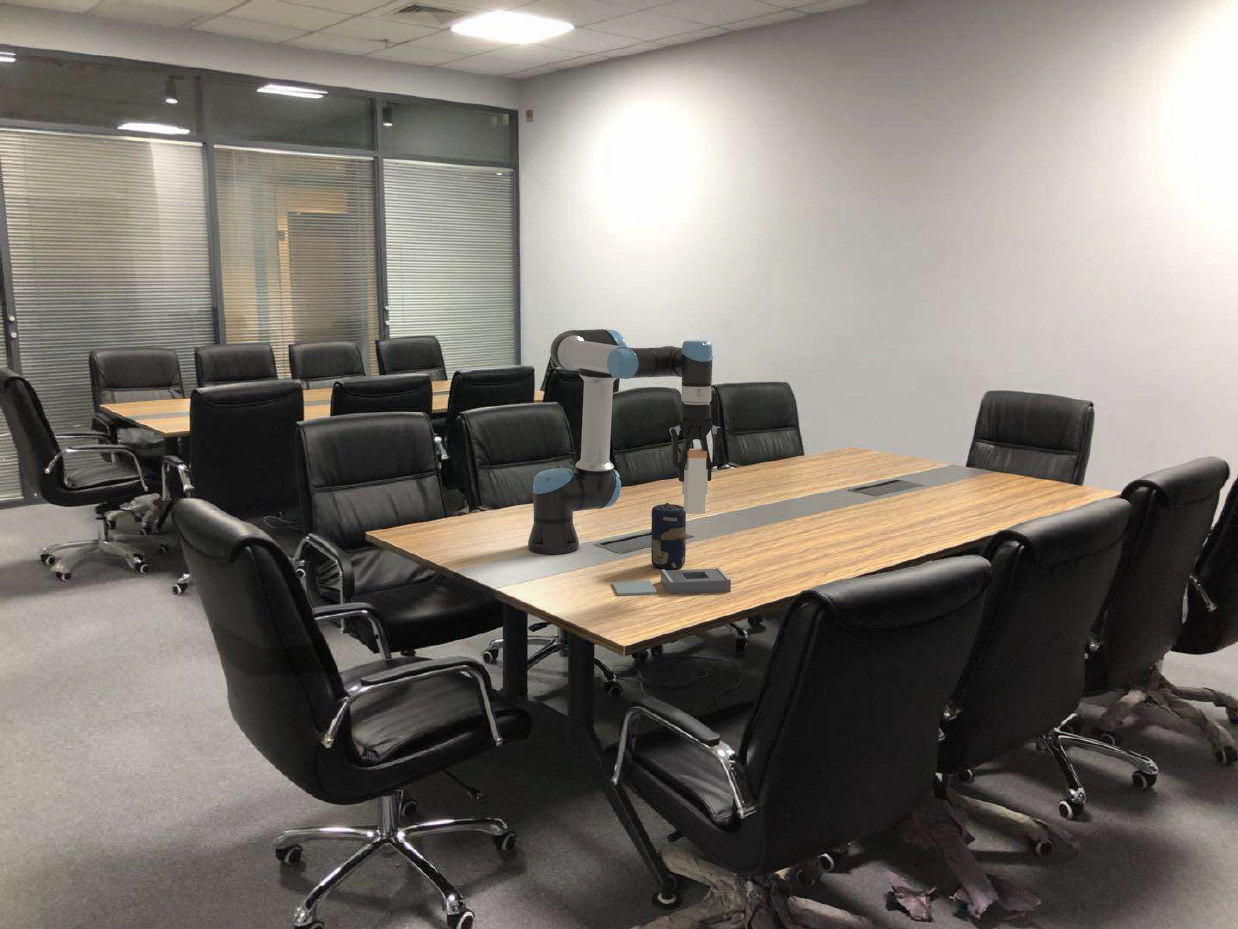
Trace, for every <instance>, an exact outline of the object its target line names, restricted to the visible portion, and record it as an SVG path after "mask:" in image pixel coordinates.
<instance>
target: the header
mask: <svg viewBox="0 0 1238 929" xmlns="http://www.w3.org/2000/svg"><path fill="white" fill-rule="evenodd" d="M660 583H661V584H662V586H663V587H664V589H665V591H667V593H668V594H669V595H676V594H677V595H678V594H682V595H683V594H701V593H702V594H705V593H707V594H708V593H724V592H725V593H726V592H729V593H730V592H732V591H731V590H732V589H731V588H732V587H731V586H732V584H731V583H732V580H731V578H730V577H729V576H728V575H727V574H726V573H725V572H724V571H723V570H722V569H721V567H718V566H717V567H716V568H698V569H697V568H696V569H693V568H692V569H691V568H690V569H671V570H668V569H667V570H666V568H661V570H660Z"/></svg>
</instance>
